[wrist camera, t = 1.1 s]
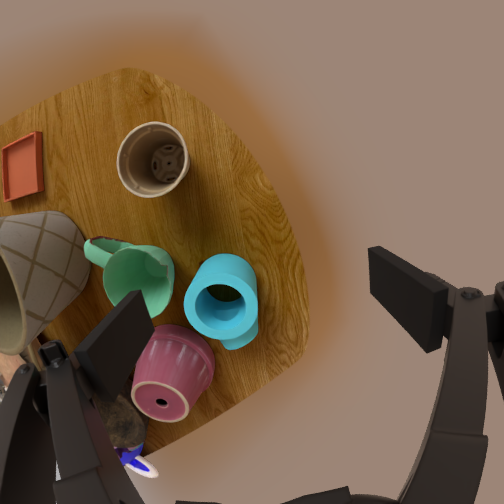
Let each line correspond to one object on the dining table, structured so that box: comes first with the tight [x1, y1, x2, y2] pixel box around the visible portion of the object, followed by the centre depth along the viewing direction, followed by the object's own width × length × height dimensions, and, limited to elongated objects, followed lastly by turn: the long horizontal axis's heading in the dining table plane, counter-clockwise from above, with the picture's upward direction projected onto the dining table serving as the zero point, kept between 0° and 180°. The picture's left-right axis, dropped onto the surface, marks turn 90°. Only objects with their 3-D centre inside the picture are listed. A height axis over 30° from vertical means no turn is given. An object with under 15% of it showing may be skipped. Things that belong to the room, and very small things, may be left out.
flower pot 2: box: [131, 324, 215, 422], centre depth 41 cm, size 14×14×13 cm
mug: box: [84, 236, 175, 318], centre depth 38 cm, size 15×10×10 cm
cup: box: [184, 254, 258, 350], centre depth 40 cm, size 12×10×9 cm
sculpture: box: [0, 353, 26, 404], centre depth 35 cm, size 25×24×16 cm
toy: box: [114, 441, 145, 459], centre depth 43 cm, size 16×4×15 cm, turn 125°
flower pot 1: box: [117, 122, 190, 198], centre depth 35 cm, size 9×9×9 cm
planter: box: [0, 211, 91, 356], centre depth 33 cm, size 19×19×20 cm
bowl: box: [92, 378, 149, 448], centre depth 45 cm, size 22×22×10 cm
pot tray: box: [2, 131, 44, 202], centre depth 37 cm, size 11×11×2 cm
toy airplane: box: [120, 444, 159, 478], centre depth 53 cm, size 24×25×5 cm
